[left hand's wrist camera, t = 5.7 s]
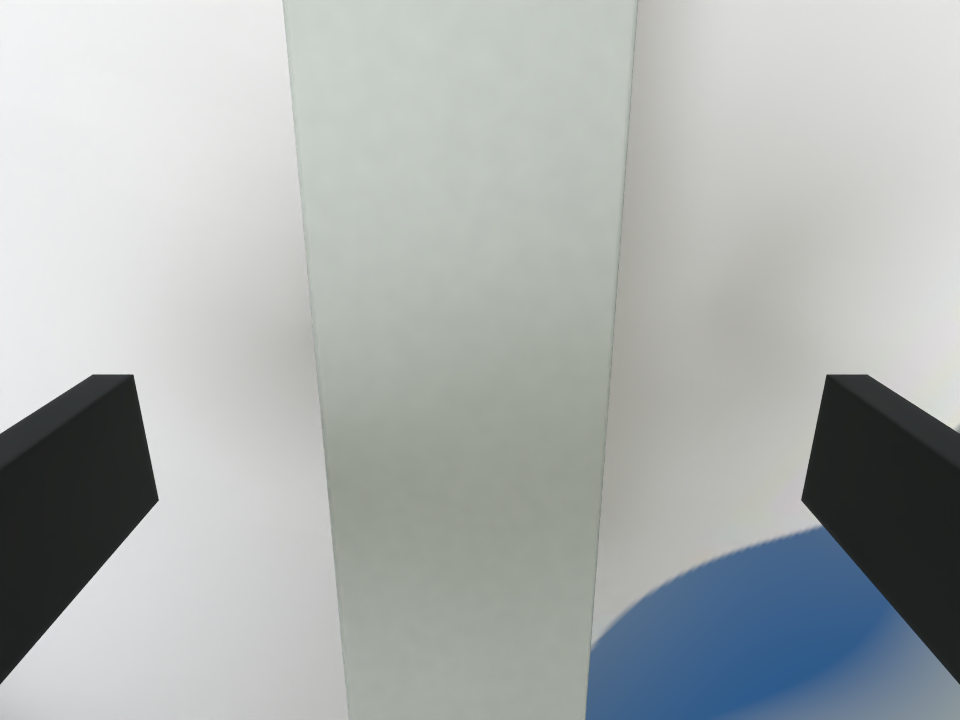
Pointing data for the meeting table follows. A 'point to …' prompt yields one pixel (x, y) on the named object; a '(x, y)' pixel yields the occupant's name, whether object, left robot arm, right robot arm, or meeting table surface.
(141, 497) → the left robot arm
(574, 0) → the bar
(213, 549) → the meeting table surface
